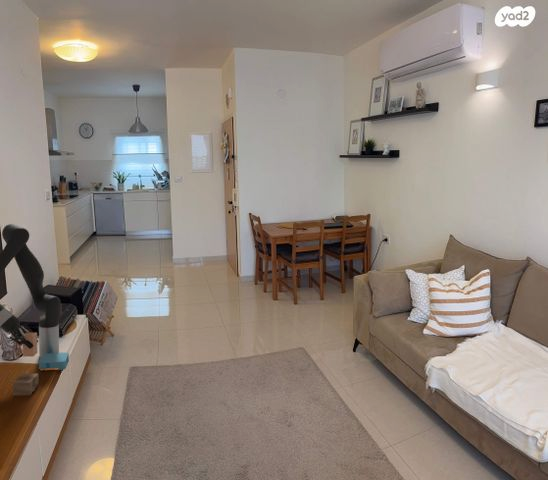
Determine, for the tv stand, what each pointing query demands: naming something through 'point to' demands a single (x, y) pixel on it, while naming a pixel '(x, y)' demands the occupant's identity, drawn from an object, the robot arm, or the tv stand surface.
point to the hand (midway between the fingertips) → (34, 345)
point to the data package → (54, 360)
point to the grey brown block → (25, 384)
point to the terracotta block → (33, 339)
